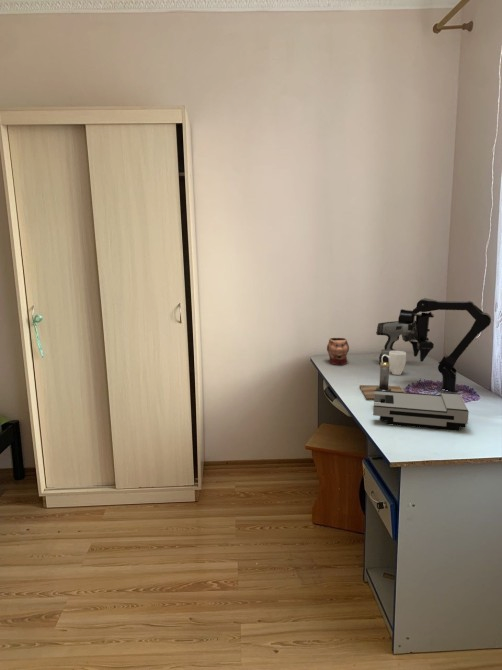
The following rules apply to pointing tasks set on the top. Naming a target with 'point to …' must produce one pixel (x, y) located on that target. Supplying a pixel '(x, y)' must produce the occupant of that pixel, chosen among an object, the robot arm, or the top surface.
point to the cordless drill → (391, 335)
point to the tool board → (370, 389)
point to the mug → (396, 361)
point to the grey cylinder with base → (384, 377)
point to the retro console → (421, 409)
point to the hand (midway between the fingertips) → (418, 358)
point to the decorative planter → (338, 350)
